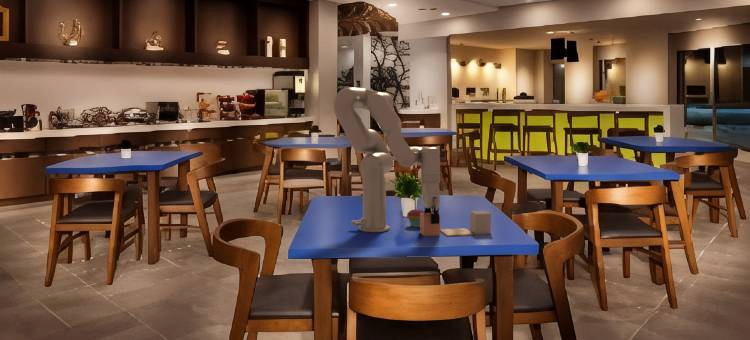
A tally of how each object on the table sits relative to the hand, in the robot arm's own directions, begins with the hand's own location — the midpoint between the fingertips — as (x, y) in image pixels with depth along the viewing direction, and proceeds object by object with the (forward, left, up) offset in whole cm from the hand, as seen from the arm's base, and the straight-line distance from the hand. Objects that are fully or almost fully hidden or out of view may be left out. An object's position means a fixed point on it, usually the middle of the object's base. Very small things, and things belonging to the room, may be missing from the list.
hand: (431, 221), depth 243 cm
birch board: (+10, 0, -5) cm, 12 cm away
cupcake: (-2, +17, -5) cm, 18 cm away
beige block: (+20, 0, -5) cm, 21 cm away
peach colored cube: (-1, 0, -5) cm, 5 cm away
